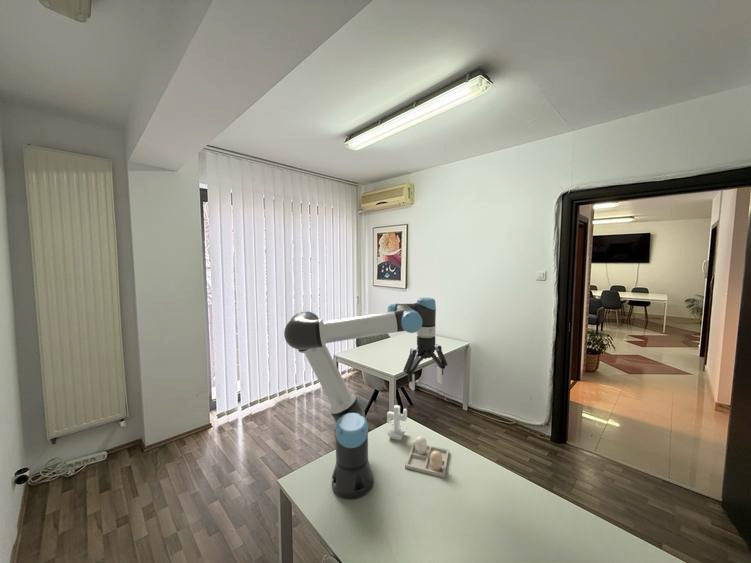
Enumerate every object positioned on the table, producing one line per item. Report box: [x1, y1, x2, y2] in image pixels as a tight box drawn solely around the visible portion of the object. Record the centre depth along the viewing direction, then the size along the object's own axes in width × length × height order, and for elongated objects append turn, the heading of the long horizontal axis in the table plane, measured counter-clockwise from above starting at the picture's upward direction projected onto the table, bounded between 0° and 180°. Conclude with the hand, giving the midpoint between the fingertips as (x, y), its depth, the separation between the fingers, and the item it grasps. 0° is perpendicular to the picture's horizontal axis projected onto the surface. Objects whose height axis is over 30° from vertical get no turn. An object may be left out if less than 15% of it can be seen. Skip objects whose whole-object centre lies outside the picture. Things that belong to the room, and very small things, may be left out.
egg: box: [430, 451, 442, 472], centre depth 112 cm, size 5×5×7 cm
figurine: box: [386, 404, 408, 441], centre depth 133 cm, size 7×9×15 cm
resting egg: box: [414, 435, 427, 456], centre depth 122 cm, size 5×5×7 cm
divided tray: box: [404, 441, 450, 478], centre depth 117 cm, size 15×15×2 cm
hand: (425, 385), depth 121 cm, fingers open, 13 cm apart
